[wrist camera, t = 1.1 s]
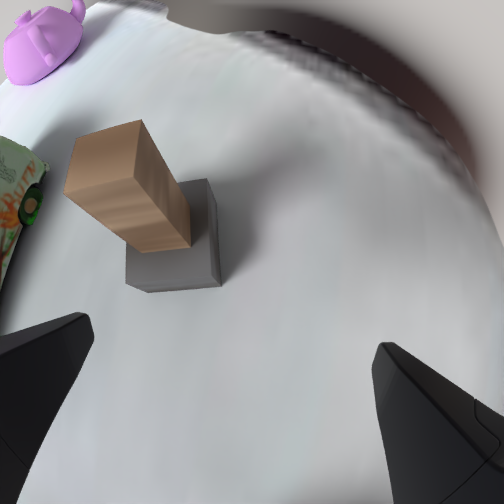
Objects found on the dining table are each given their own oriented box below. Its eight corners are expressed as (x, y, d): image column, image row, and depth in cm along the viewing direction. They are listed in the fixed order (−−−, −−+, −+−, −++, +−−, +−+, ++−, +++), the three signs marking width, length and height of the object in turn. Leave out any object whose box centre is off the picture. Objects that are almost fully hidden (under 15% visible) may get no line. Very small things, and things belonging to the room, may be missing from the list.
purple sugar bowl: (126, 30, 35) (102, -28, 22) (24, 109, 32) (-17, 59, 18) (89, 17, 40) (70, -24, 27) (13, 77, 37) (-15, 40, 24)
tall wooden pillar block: (221, 286, 22) (161, 220, 9) (148, 292, 22) (36, 242, 10) (216, 202, 24) (172, 84, 11) (148, 212, 24) (67, 116, 12)
